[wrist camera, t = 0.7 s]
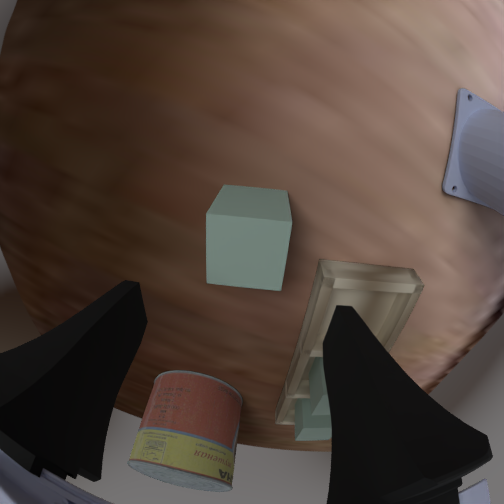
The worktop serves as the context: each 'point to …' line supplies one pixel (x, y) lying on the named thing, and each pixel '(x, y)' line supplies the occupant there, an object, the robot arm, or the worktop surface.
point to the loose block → (248, 237)
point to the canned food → (189, 432)
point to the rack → (366, 305)
